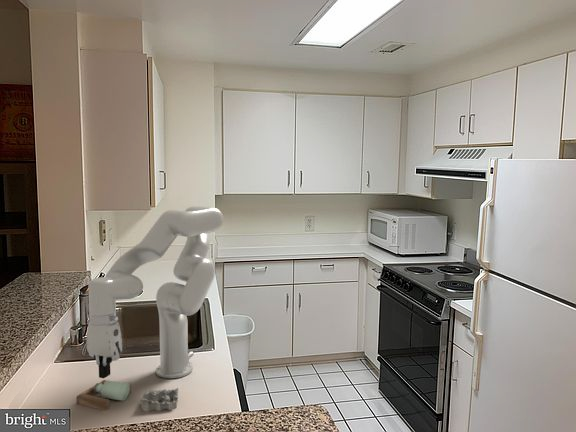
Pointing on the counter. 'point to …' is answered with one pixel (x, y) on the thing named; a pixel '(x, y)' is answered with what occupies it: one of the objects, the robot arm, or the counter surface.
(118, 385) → the bottle
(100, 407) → the rest
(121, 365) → the counter surface
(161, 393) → the egg carton
